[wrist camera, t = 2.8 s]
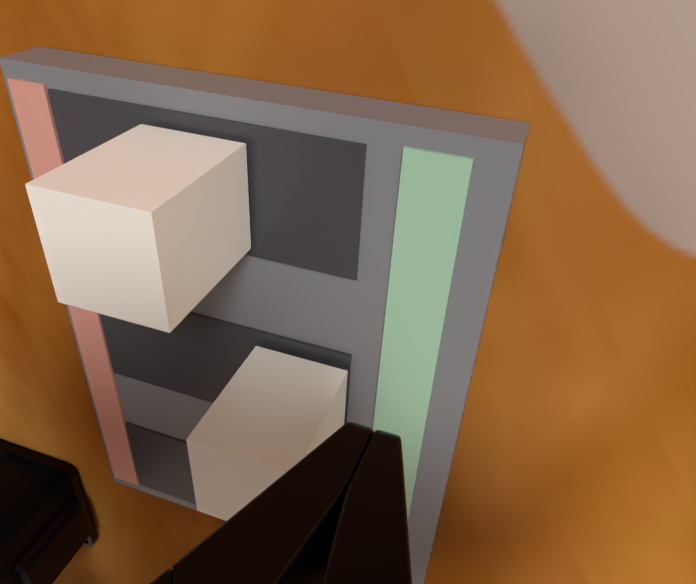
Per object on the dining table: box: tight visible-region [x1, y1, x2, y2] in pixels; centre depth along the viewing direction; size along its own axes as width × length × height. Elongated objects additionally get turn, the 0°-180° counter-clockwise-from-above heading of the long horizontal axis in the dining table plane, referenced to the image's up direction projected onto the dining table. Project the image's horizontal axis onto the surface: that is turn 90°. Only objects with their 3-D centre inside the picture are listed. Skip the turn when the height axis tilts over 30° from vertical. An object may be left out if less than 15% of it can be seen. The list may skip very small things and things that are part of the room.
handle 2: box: [186, 346, 348, 521], centre depth 17 cm, size 3×3×4 cm
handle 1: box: [25, 124, 251, 333], centre depth 14 cm, size 3×3×4 cm
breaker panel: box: [0, 46, 530, 584], centre depth 20 cm, size 14×18×2 cm
